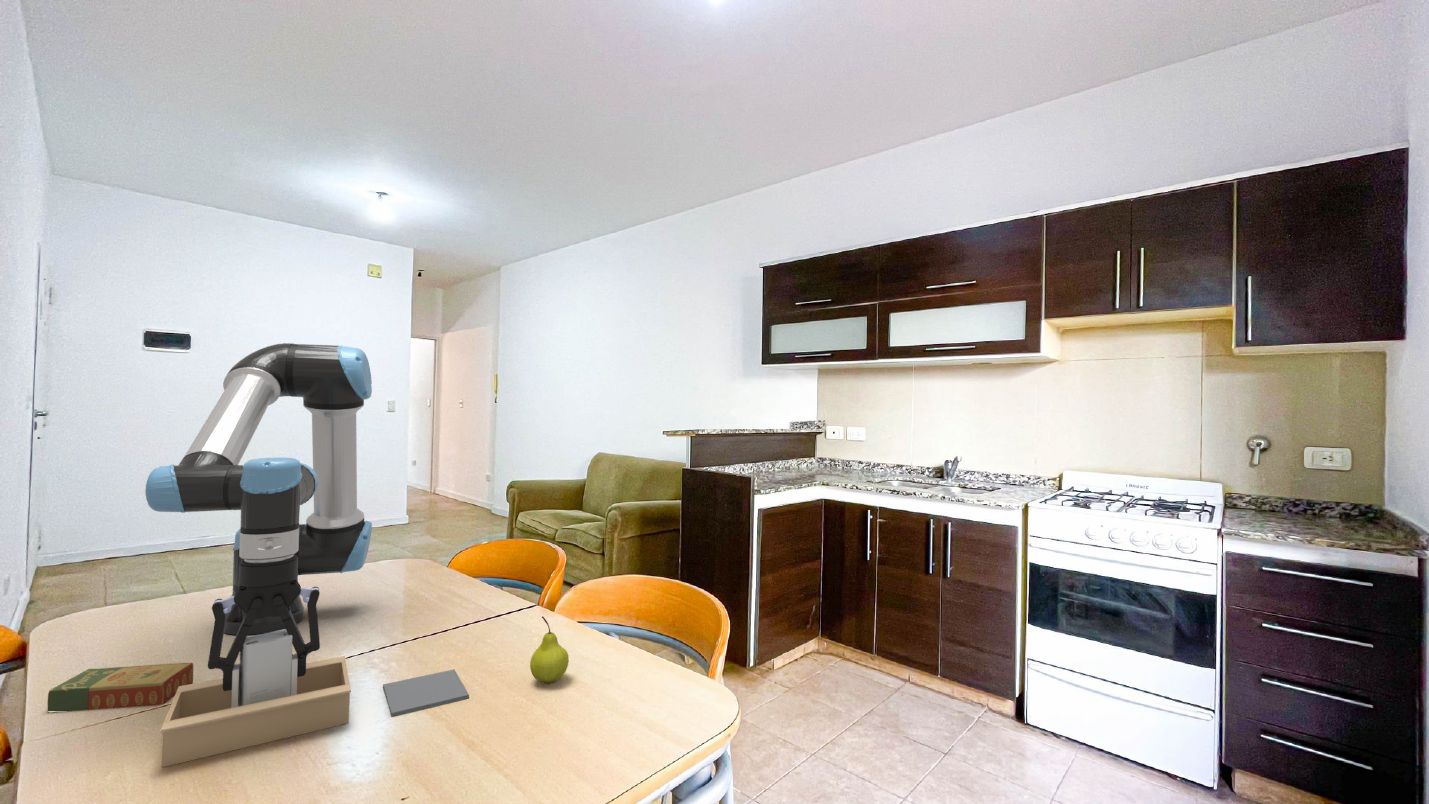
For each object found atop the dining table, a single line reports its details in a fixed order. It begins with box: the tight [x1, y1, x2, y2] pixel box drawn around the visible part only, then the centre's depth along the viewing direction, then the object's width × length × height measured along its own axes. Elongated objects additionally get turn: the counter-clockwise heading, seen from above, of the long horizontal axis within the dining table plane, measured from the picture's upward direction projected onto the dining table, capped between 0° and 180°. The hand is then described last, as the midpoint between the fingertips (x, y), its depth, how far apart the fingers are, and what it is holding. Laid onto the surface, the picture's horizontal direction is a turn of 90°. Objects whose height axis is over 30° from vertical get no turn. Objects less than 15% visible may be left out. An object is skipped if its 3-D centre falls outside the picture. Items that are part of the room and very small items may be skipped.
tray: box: [160, 655, 352, 768], centre depth 94 cm, size 15×22×6 cm
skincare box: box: [239, 628, 293, 706], centre depth 94 cm, size 6×4×12 cm
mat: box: [382, 669, 470, 718], centre depth 106 cm, size 12×12×1 cm
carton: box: [47, 662, 194, 712], centre depth 102 cm, size 8×16×4 cm, turn 102°
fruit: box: [529, 615, 570, 685], centre depth 112 cm, size 7×7×12 cm
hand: (265, 702), depth 94 cm, fingers closed on skincare box, 7 cm apart
